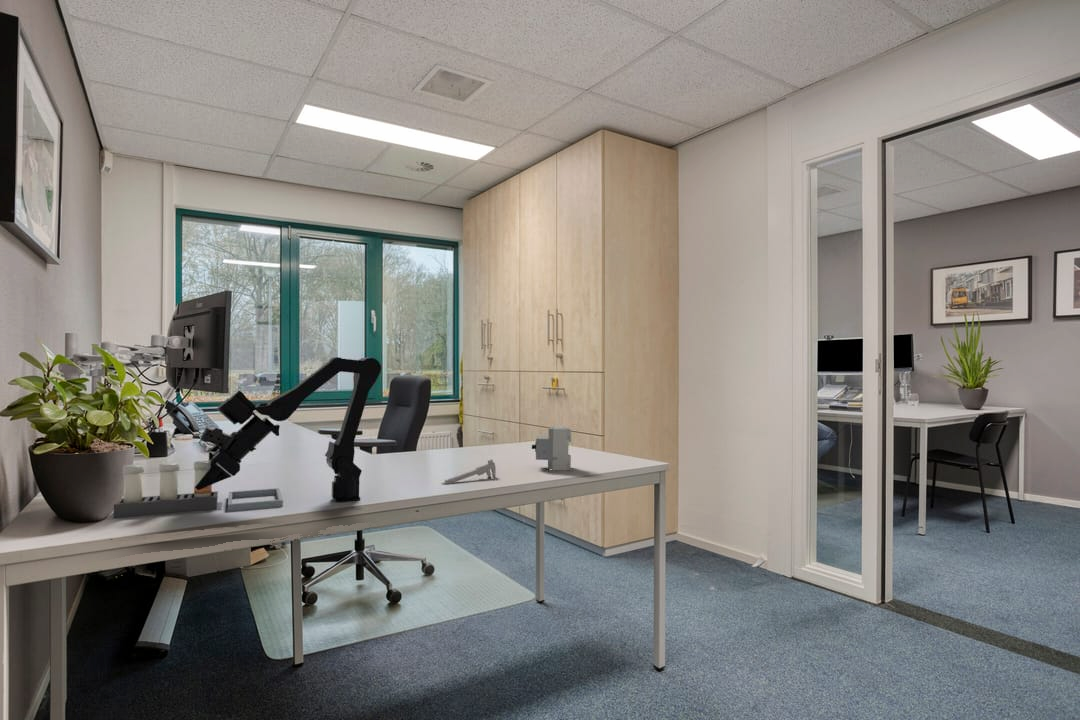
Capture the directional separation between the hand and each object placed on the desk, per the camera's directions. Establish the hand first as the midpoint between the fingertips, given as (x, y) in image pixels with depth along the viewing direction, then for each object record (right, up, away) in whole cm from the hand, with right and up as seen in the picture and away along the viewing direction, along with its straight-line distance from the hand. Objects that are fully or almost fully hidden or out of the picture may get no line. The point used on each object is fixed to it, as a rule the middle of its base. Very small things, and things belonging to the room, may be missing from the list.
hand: (196, 485), depth 139 cm
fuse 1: (-11, -5, -6) cm, 14 cm away
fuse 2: (-5, -5, -3) cm, 8 cm away
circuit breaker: (+87, -10, +71) cm, 113 cm away
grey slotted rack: (-5, -7, -3) cm, 9 cm away
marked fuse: (+1, -6, +1) cm, 6 cm away
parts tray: (+11, -7, +7) cm, 15 cm away
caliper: (+60, -9, +47) cm, 77 cm away
